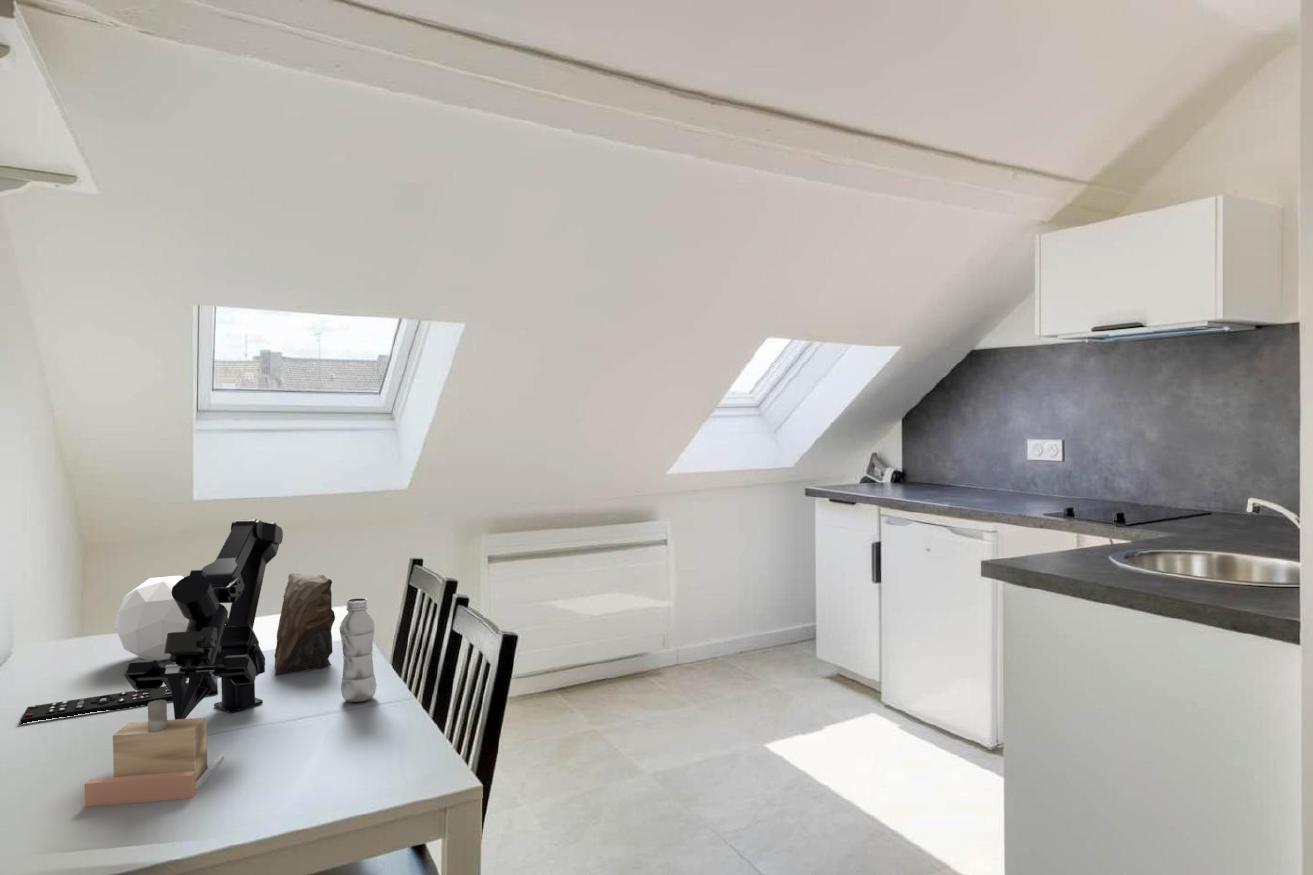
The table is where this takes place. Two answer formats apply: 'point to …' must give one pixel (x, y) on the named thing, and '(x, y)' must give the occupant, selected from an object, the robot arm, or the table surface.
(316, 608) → the brown rock
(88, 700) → the remote control
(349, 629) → the plastic bottle
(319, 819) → the table surface
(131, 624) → the ball
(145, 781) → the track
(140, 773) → the plate
